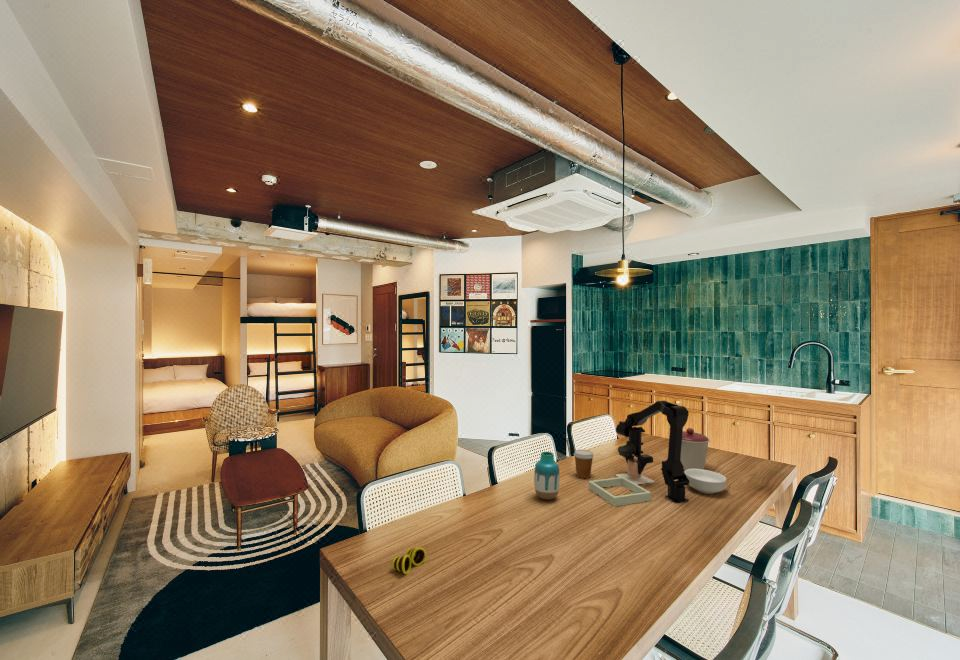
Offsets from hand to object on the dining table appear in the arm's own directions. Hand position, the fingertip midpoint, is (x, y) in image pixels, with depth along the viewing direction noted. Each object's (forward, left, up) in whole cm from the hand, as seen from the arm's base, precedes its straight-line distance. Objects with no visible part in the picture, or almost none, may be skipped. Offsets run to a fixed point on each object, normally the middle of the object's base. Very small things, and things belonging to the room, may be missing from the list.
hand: (634, 472), depth 192 cm
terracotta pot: (0, 0, -2) cm, 2 cm away
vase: (-7, +51, -4) cm, 52 cm away
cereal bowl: (-20, -22, -4) cm, 30 cm away
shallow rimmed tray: (-13, +19, -4) cm, 23 cm away
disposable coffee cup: (+10, +22, -4) cm, 24 cm away
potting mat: (0, 0, -4) cm, 4 cm away
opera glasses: (-38, +114, -4) cm, 120 cm away
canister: (+4, -38, -4) cm, 38 cm away
